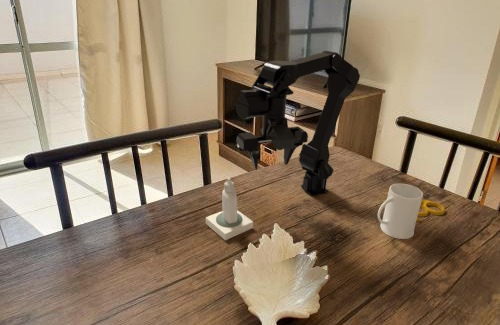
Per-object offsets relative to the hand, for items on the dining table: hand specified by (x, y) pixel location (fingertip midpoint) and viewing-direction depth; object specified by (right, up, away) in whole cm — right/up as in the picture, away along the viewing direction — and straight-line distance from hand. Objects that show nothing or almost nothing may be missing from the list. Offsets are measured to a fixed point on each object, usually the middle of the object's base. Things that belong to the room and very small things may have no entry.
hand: (270, 166), depth 102 cm
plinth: (-11, -16, -3) cm, 20 cm away
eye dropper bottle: (-11, -14, -4) cm, 18 cm away
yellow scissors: (+43, -14, +6) cm, 46 cm away
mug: (+32, -17, -3) cm, 36 cm away
